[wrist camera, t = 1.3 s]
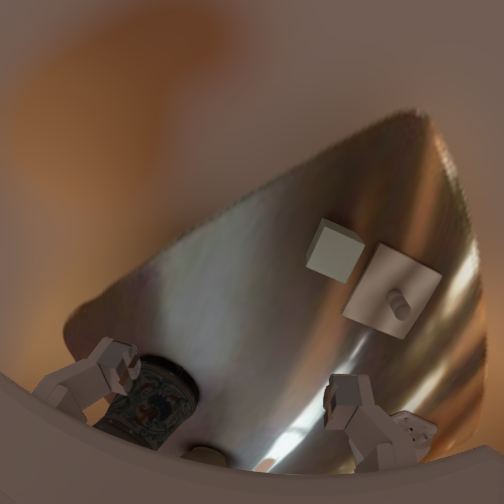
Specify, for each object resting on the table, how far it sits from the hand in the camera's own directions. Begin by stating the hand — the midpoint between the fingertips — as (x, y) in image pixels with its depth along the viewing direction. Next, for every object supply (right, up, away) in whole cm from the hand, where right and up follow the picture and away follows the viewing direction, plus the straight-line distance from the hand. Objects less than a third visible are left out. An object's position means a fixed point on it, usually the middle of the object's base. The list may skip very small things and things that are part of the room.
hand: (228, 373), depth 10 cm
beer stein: (-19, -25, +44) cm, 53 cm away
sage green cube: (+12, +6, +27) cm, 30 cm away
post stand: (+22, -1, +27) cm, 35 cm away
